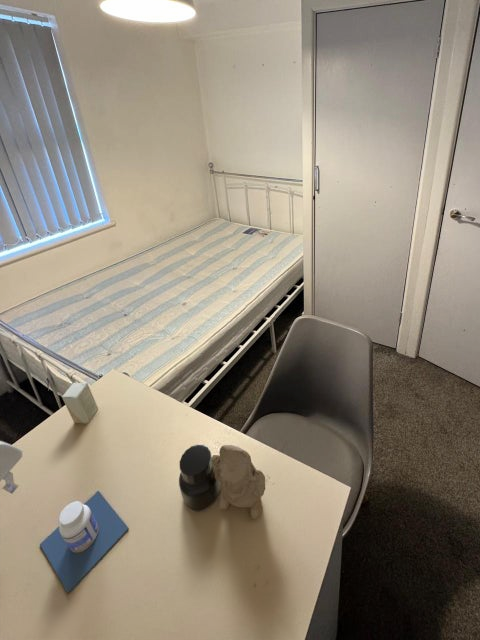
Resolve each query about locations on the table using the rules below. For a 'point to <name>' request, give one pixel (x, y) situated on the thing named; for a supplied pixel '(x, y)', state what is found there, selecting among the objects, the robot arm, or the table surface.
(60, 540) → the mat
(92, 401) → the box
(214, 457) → the figurine
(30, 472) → the table surface
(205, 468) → the ink bottle
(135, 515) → the table surface
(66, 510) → the pill bottle
